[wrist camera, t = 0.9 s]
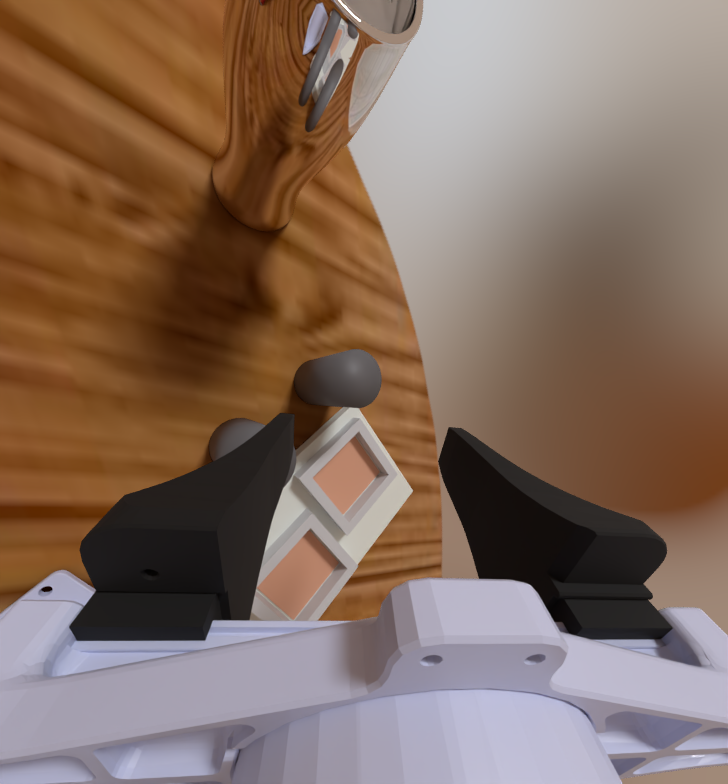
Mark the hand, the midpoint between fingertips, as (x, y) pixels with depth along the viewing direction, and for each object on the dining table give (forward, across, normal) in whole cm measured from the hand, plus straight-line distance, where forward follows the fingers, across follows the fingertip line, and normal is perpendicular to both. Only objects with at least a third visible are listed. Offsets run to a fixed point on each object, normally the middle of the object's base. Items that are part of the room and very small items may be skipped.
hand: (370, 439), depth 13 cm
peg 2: (+12, +4, +3) cm, 13 cm away
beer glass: (+17, +10, -11) cm, 22 cm away
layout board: (+7, +2, +13) cm, 15 cm away
